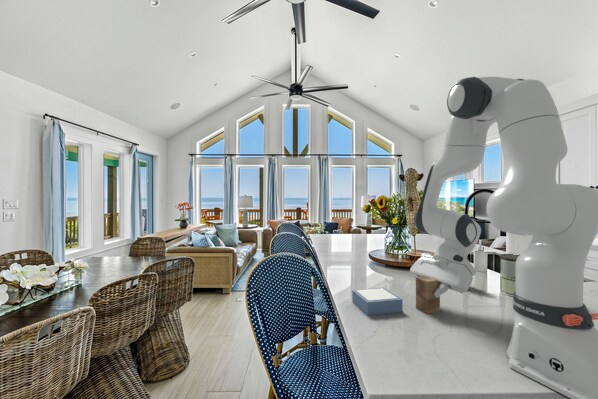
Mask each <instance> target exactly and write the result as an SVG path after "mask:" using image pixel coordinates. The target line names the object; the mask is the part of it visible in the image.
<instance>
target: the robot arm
mask: <svg viewBox="0 0 598 399" xmlns="http://www.w3.org/2000/svg"><path fill="white" fill-rule="evenodd" d="M446 106H447V109H448V111H449V114H450V115H451V116H450V119H449V121H448V126H447V129H446V131H445V138H444V143H443V144H444V145H443V150H442V152H441V154H440V157H439V158H438V159H437V160H435V161H433V163H432V164H431V166H430V169H429V171H428V174H427V178H426V180H425V184H424V187H423V188H424V189H423V191H422V196H421V200H420V202H419V205H418V208H417V210H416V212H415V215H414V218H413V219H414V220H413V223H414V225H415V227H416V228H417V231H419V233H422V234H426V235H430V236H434V237H438V238H441V239H444V242H442V243H441V244H440V245H439V246H438V248H437V249H436V251H435V252H434V254H433V257H432V256H428V255H426V256H423V257H421V256H420V258H418V259H417V260H416V261H415V262H414V263H413V264H412V266H411V267H410V269H409V272H410V274H411V275H412V276H413V278H414V279H416V278H417V277H424V276H426V277H429V278H432V279H435V280H438V282H440V288H438V289H437V290H433V292H432V295H433V297H436V298H439V296H440V297H441V295H442V294H444V293H446V292H448V290H451V291H454V292H458V293H460V294H463V293H465V292H467V291H468V290H469V289H468V288H469V286H472V283H473V279H474V278H473V277H474V276H475V275H476V273H477V270H476V269H475V267H474V265H473V264H472V263H471V262H470V260H469V261H468V260H467V257H468V255H469V254H470V253H472V251H473V250H474V249H475V246H476V244H477V243H478V241H479V239H480V236H481V233H482V228H481V226H480V225H479V223H478V222H476V221H475V220H473V218H472V217H471V216H470V215H469V214H466V213H463V212H459V211H455V210H450V209H445V208H440V207H438V201H439V197H440V193H441V191H442V187H443V185H444V183H445V182H446V181H447V180H449V179H450V178H454V177H457V176H461V175H466V174H468V173H471V172H472V171H474V170H476V169H477V168H478V167H479V166H480V165H481V164H482V162H483V160H484V156H485V152H486V144H487V136H488V131H489V128H490V127H491V126H492V125H493V124H495V123H497V129H498V134H499V138H500V144H501V149H502V156H503V165H504V166H503V173H502V174H503V175H502V177H501V178H502V179H501V182H500V184H499V186H498V187H497V188H496V189H495V190H494V192H492V193H491V195H490V196H489V197H488V200H487V202H486V207H485V208H486V216H487V218H488V220H489V223H491V225H492V226H493V227H494V228H495V229H497V230H498V231H501V232H504V233H508V234H512V235H519V236H532V238H531V241H530V242H529V245H528V246H527V248H526V249H525V250H524V251H523V252H522V253H520V254H519V256H518V258H517V260H516V292H514V293H513V297H512V298H513V299H512V308H513V310H514V318H513V319H514V320H513V328H512V333H511V339H510V341H509V344H508V347H507V349H506V355H507V357H508V358H509V361H508V367H510V368H511V369H513V371H516V372H518V373H520V374H522V375H524V376H526V377H528V378H530V379H531V380H534V381H535V382H538V383H540V384H542V385H543V386H545V387H548V388H550V389H551V390H553V391H556V392H558V393H559V394H561V395H564V396H565V397H567V398H569V399H598V328H596V327H595V323H594V321H595V320H598V312H597V313H590V312H589V310H588V308H587V306H586V304H585V303H584V283H585V282H584V278H585V276H584V275H585V267H586V261H587V260H588V259H587V258H588V256H589V253H590V250H591V247H592V245H593V243H594V241H595V239H596V237H597V235H598V189H596V188H593V187H589V186H587V185H586V186H585V185H580V184H577V183H576V184H575V183H574V184H573V183H572V184H566V183H564V184H563V183H562V184H559V183H557V179H556V178H557V177H556V175H557V168H558V164H559V163H560V162H561V161H562V160H563V159H565V157H566V155H567V154H568V150H569V149H568V144H567V141H566V137H565V134H564V128H563V126H562V121H561V117H560V113H559V110H558V108H557V106H556V103H555V101H554V98H553V97H552V94H551V93H550V91H549V90H548V88H547V86H546V85H545V84H544V83H543V82H542V81H541V80H537V79H525V78H511V77H501V76H481V77H480V76H478V77H476V76H471V77H465V78H462V79H459V80H458V81H456V82H455V83H454V84H453V85H452V87H451V89H449V92H448V95H447V98H446Z"/></svg>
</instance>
